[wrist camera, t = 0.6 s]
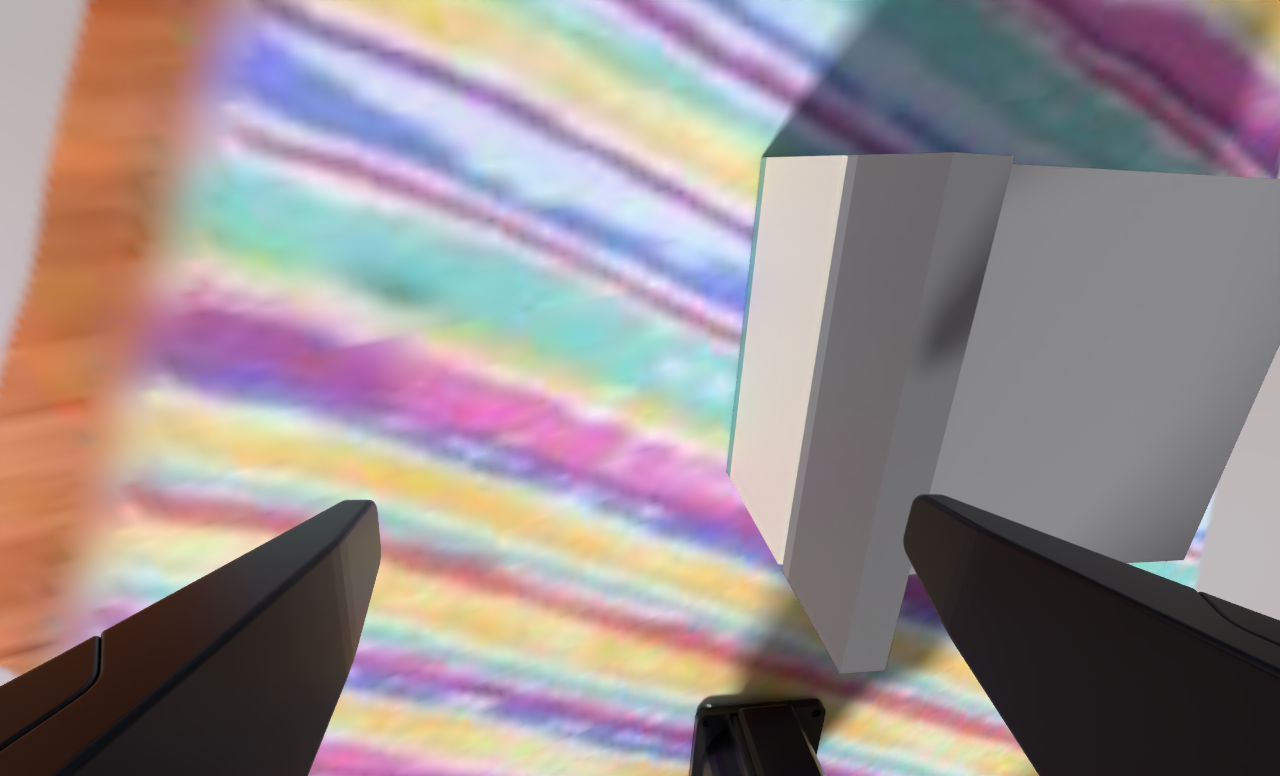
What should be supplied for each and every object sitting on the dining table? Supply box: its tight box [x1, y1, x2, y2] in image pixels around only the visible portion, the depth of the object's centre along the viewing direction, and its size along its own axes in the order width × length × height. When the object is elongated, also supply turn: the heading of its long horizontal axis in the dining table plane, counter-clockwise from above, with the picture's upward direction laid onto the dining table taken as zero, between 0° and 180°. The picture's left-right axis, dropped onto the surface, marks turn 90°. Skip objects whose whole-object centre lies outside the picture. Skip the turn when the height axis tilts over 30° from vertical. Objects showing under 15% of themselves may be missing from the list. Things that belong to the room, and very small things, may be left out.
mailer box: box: [726, 155, 848, 564], centre depth 20 cm, size 12×14×6 cm
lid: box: [782, 152, 1280, 674], centre depth 15 cm, size 12×14×4 cm
